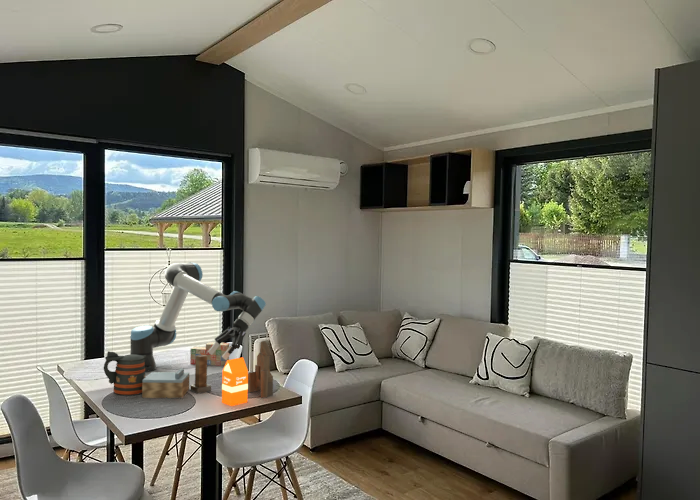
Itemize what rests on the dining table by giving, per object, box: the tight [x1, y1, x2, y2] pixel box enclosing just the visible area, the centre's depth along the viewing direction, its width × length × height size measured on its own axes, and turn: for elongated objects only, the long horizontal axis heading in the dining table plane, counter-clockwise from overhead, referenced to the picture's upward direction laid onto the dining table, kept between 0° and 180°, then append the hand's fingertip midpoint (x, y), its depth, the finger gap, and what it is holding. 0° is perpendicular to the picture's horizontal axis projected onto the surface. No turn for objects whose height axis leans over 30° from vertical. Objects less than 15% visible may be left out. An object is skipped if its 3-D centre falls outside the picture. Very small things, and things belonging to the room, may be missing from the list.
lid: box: [143, 367, 190, 383], centre depth 254 cm, size 18×14×4 cm
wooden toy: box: [248, 340, 274, 399], centre depth 258 cm, size 15×7×25 cm, turn 42°
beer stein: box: [103, 350, 146, 396], centre depth 255 cm, size 19×15×20 cm
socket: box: [189, 383, 212, 394], centre depth 260 cm, size 7×7×2 cm
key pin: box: [194, 355, 208, 388], centre depth 260 cm, size 4×4×17 cm
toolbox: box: [141, 375, 190, 399], centre depth 254 cm, size 18×14×7 cm
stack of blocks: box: [189, 341, 230, 367], centre depth 314 cm, size 21×6×12 cm, turn 86°
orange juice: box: [221, 357, 249, 407], centre depth 243 cm, size 8×9×20 cm
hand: (216, 355), depth 264 cm, fingers open, 13 cm apart
